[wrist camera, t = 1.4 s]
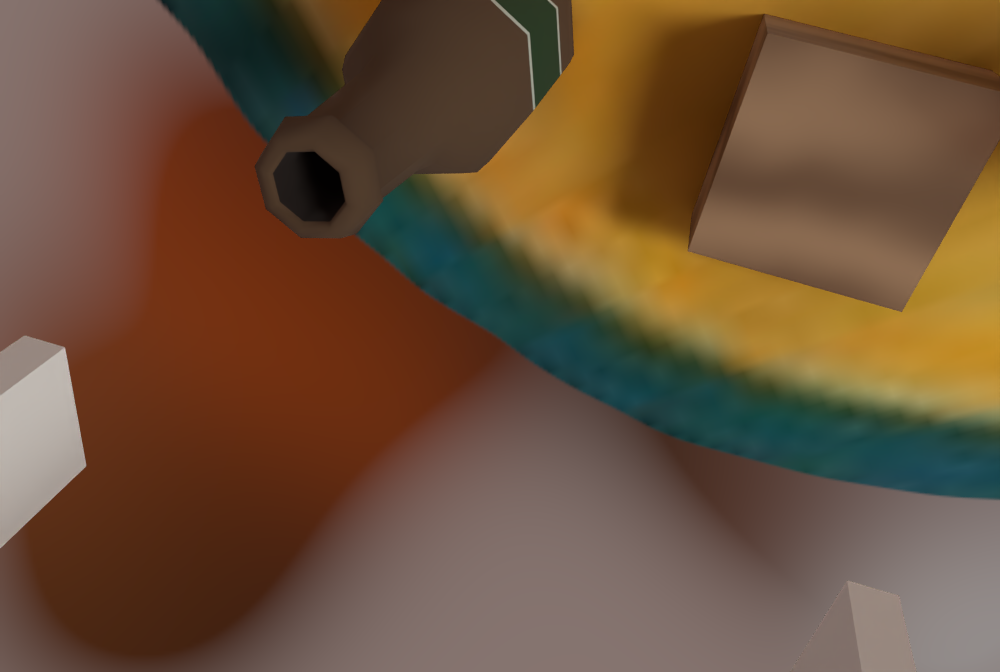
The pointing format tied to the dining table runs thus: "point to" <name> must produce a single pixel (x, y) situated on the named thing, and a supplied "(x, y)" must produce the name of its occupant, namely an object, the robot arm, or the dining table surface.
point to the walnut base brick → (844, 161)
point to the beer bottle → (414, 106)
